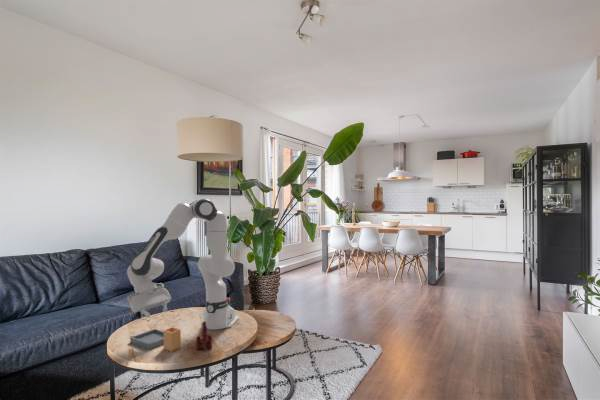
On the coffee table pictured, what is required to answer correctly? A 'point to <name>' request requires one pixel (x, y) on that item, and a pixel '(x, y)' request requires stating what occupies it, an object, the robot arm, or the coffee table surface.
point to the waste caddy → (172, 339)
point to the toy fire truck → (204, 339)
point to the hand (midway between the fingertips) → (157, 313)
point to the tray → (149, 339)
